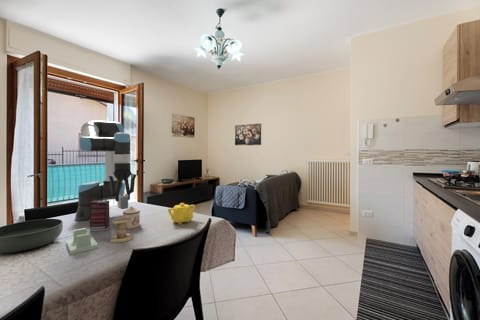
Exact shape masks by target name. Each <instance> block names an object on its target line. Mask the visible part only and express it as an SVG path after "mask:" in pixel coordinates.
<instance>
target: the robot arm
mask: <svg viewBox="0 0 480 320" xmlns="http://www.w3.org/2000/svg"><path fill="white" fill-rule="evenodd" d="M80 133H81V135H82V136H80V137H79V140H78V141H79V143H78V144H79V151H81V152H105V155H104V156H105V157H104V158H105V159H104V160H105V178H104V179H103V180H102V182H101V183H100V181H89V182H84V183H81V184H79V185H78V189H77V190H78V191H77V193H78V203H77V204H78V207H77V210H76V212H75V213H76V214H75V216H74V217H75V218H74V219H75V220H76V221H79V222H80V221H90V206H89V203H90V202H92V201H110V200H114V201H115V202H116V203H117V204H116V205H117V208H118V209H120V208H121V196H127V197H128V201H129V200H131V193H135V192H134V191H135V180H136V177H137V174H135V173H132V171H131V163H130V162H131V135H130V134H129V133H127V132H125V131H124V126H123V124H122V123H121V122H119V121H110V120H109V121H108V120H91V121H87V122H85V123H83V124H82V125H81V128H80ZM129 178H130V182H129ZM129 183H130V184H129ZM125 192H126V193H125Z"/></svg>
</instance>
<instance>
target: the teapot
mask: <svg viewBox="0 0 480 320" xmlns="http://www.w3.org/2000/svg"><path fill="white" fill-rule="evenodd" d="M195 208H196V205H195V204H186V203H185V202H181V203H179V204H176V205H174V206H173V207H169V208H168V209H167V212H168V214H169V216H170V219H171V221H173V222H174V223H177V225H180V226H181V225H183V223H186V224H187V223H189V224H190V223H191V221H192V219H193V218H194V210H195Z"/></svg>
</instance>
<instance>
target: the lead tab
mask: <svg viewBox="0 0 480 320" xmlns="http://www.w3.org/2000/svg"><path fill="white" fill-rule="evenodd" d="M119 209H120V210H127V209H129V200H128V197H127V196H125V195H123V196H121V208H119Z"/></svg>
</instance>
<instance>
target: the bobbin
mask: <svg viewBox="0 0 480 320" xmlns="http://www.w3.org/2000/svg"><path fill="white" fill-rule="evenodd" d="M111 221H112V223H113V224H114V225H115V224H116V234H115V235H113V236H111V237H110V238H109V241H110V243H112V244H113V243H115V244H118V243H119V244H120V243H125V242H128V241H131V240H132V239H133V238H134V237H133V234H132V233H129V232H128V233H127V231H128V230H127V229H128V228H127V222H129V221H130V217H123V216H120V217H115V218H113V219H112V220H111Z"/></svg>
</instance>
